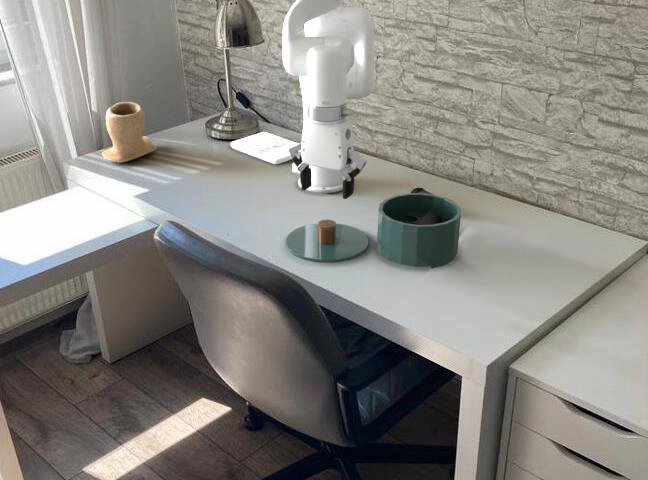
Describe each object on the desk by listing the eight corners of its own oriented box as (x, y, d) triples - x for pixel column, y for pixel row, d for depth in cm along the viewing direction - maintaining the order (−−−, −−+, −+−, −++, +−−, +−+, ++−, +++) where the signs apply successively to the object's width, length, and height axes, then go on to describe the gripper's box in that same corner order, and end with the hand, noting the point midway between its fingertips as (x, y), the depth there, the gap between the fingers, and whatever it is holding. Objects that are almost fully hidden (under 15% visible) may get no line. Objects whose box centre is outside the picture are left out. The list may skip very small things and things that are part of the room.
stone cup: (123, 169, 211) (115, 114, 203) (97, 159, 218) (88, 105, 210) (168, 154, 220) (162, 101, 213) (141, 145, 227) (135, 93, 220)
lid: (269, 253, 168) (268, 231, 165) (310, 221, 181) (310, 200, 179) (344, 272, 160) (345, 249, 158) (381, 237, 174) (382, 216, 171)
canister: (363, 258, 166) (365, 216, 161) (396, 227, 178) (398, 187, 174) (439, 276, 159) (443, 233, 154) (468, 242, 171) (472, 202, 166)
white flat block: (265, 136, 233) (264, 130, 232) (312, 153, 220) (312, 146, 219) (229, 147, 225) (228, 141, 224) (276, 165, 212) (275, 158, 211)
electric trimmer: (451, 221, 181) (453, 208, 180) (406, 199, 192) (407, 186, 190) (463, 217, 183) (465, 205, 181) (418, 195, 194) (419, 183, 192)
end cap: (427, 259, 164) (429, 230, 160) (394, 253, 166) (396, 224, 163) (441, 240, 171) (443, 211, 168) (409, 234, 174) (411, 206, 170)
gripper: (374, 112, 155) (372, 193, 164) (298, 100, 162) (299, 179, 171) (357, 123, 149) (356, 206, 158) (279, 110, 157) (281, 191, 165)
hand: (326, 192), depth 165 cm, fingers open, 9 cm apart
